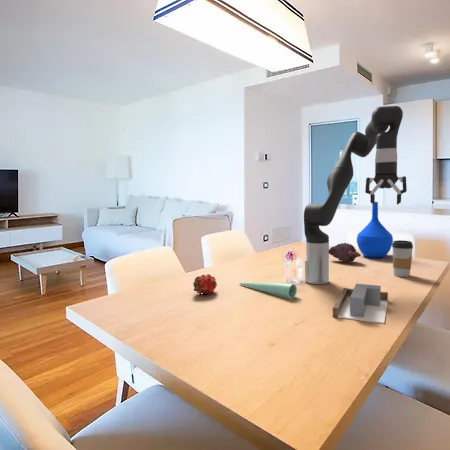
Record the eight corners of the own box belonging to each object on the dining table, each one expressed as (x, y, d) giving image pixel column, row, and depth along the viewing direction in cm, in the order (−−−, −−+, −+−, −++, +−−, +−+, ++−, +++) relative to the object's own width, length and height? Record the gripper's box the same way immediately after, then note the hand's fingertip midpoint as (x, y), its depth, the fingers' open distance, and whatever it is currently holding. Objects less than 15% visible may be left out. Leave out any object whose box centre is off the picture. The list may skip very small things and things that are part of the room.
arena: (332, 316, 116) (332, 307, 115) (343, 295, 136) (343, 287, 135) (384, 323, 109) (384, 314, 109) (387, 300, 129) (387, 292, 129)
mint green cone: (243, 271, 155) (296, 282, 136) (244, 284, 156) (297, 296, 137) (235, 274, 152) (288, 285, 133) (235, 287, 152) (288, 300, 133)
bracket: (355, 300, 129) (356, 283, 129) (380, 302, 126) (380, 285, 125) (350, 315, 115) (350, 297, 114) (377, 319, 112) (377, 300, 111)
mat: (337, 317, 115) (337, 316, 115) (347, 297, 134) (347, 296, 134) (384, 323, 109) (384, 322, 109) (387, 301, 128) (387, 300, 128)
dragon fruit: (192, 301, 139) (213, 297, 149) (206, 291, 135) (227, 288, 144) (184, 281, 143) (205, 279, 152) (198, 271, 138) (218, 269, 147)
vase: (367, 251, 213) (368, 200, 210) (398, 255, 199) (400, 201, 195) (350, 256, 202) (350, 202, 198) (382, 261, 188) (383, 203, 184)
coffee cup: (394, 272, 166) (394, 239, 164) (414, 274, 161) (415, 241, 159) (388, 276, 160) (389, 242, 158) (409, 278, 155) (410, 244, 153)
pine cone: (324, 261, 191) (324, 242, 190) (331, 258, 199) (332, 240, 197) (358, 265, 180) (358, 246, 179) (364, 262, 187) (365, 242, 186)
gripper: (407, 160, 137) (406, 203, 139) (367, 162, 143) (366, 203, 145) (407, 159, 130) (406, 205, 132) (364, 162, 137) (364, 205, 139)
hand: (385, 204), depth 139 cm, fingers open, 8 cm apart
